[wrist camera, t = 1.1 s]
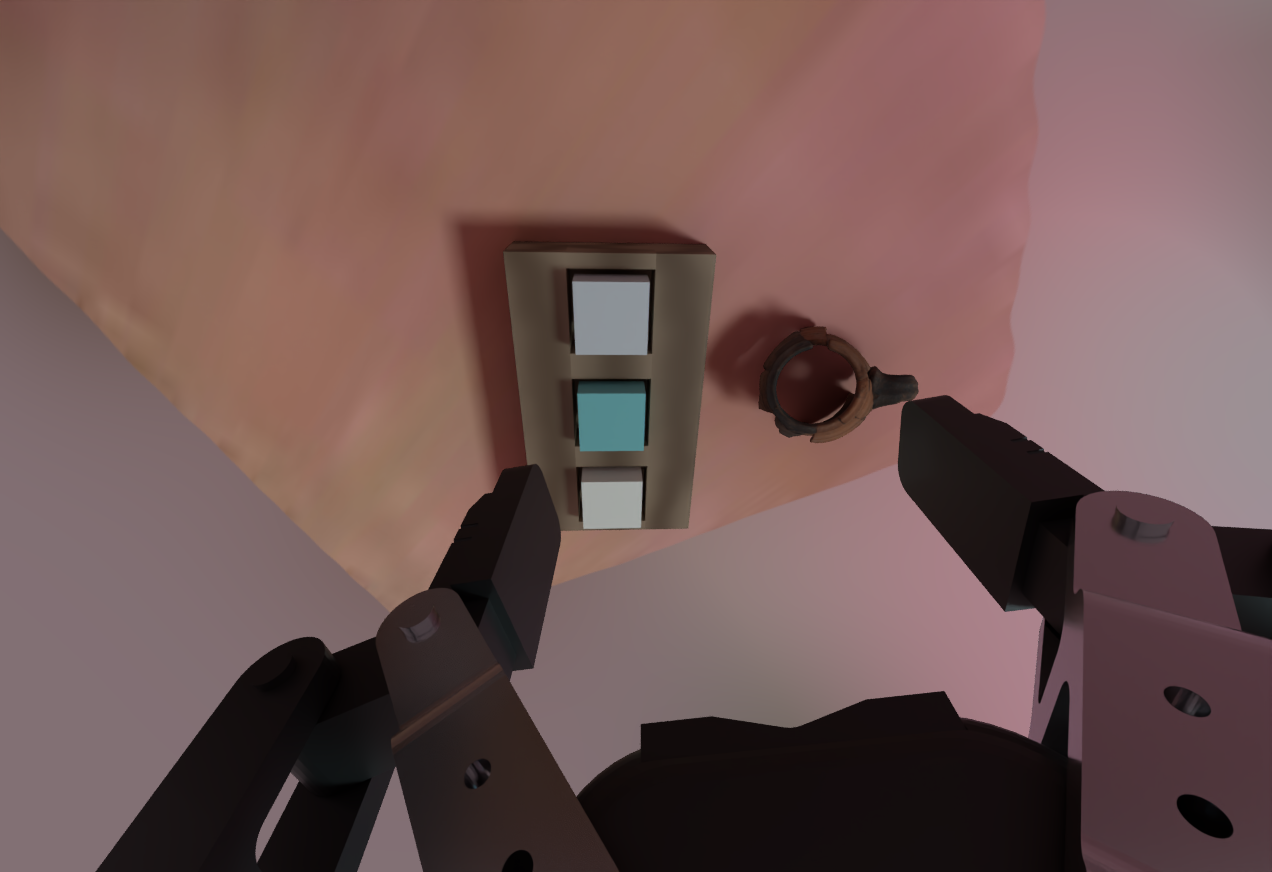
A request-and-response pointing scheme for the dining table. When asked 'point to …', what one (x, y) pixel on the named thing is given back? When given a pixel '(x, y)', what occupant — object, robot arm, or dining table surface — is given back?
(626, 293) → the grey key
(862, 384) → the pottery mug
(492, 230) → the dining table surface
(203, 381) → the dining table surface
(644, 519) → the console
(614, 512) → the cream key
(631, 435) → the teal key
